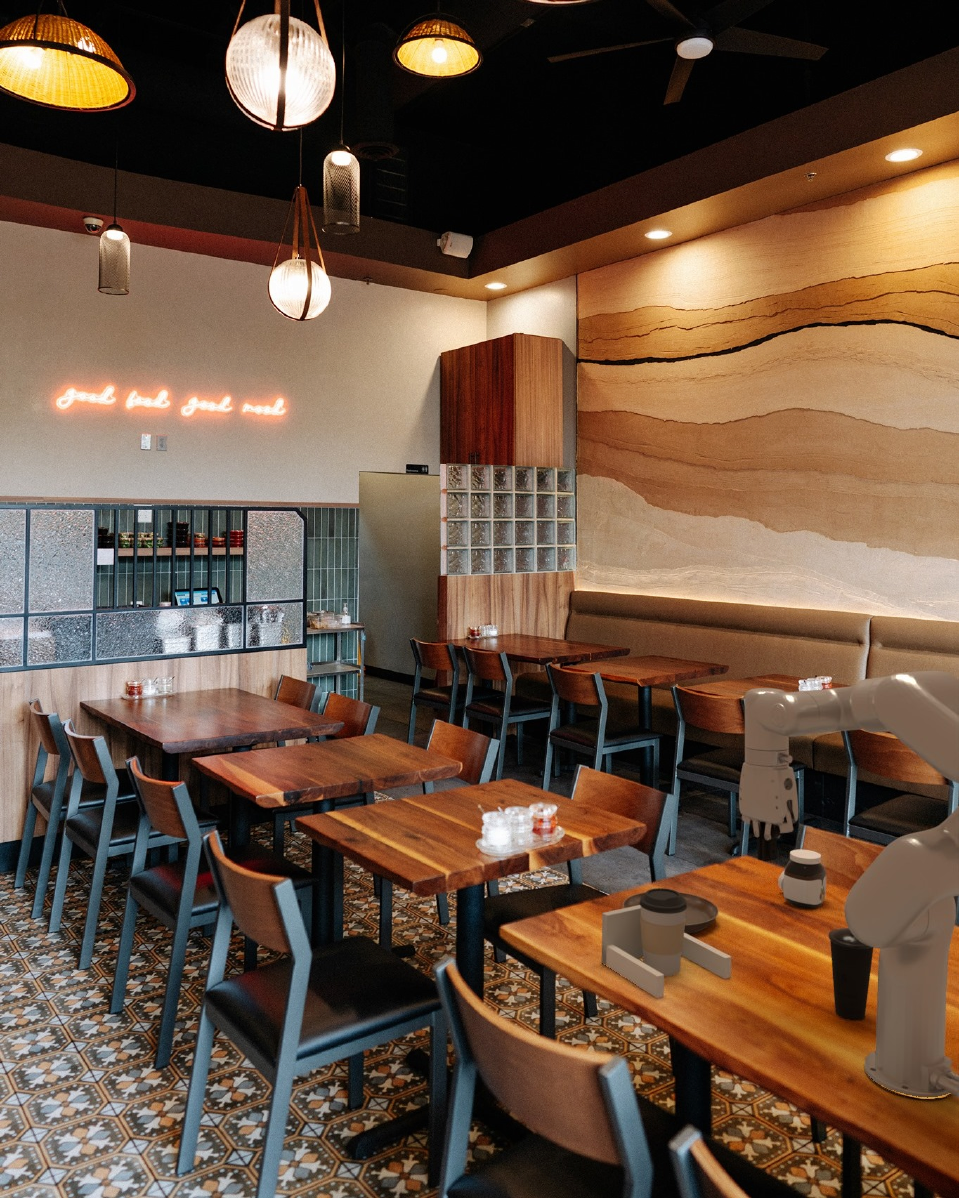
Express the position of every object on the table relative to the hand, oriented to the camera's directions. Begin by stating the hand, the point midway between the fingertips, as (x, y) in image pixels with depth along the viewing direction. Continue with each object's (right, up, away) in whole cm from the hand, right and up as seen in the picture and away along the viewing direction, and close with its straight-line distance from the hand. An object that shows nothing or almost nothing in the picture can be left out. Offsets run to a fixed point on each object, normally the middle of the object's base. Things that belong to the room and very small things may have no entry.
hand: (767, 859), depth 167 cm
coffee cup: (-16, -25, +13) cm, 33 cm away
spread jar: (+23, -24, +51) cm, 61 cm away
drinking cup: (+13, -26, -4) cm, 29 cm away
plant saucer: (-10, -24, +38) cm, 46 cm away
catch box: (-16, -25, +12) cm, 31 cm away
